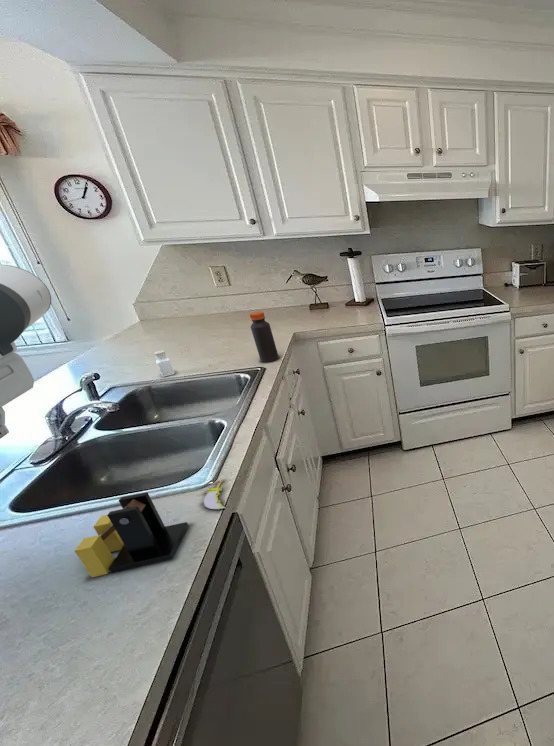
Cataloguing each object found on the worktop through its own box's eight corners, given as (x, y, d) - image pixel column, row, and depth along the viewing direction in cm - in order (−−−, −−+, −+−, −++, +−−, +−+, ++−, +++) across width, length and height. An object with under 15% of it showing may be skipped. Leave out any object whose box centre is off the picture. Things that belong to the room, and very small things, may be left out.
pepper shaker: (162, 377, 157) (153, 354, 153) (161, 374, 160) (152, 351, 156) (175, 374, 160) (166, 351, 156) (174, 371, 162) (164, 349, 158)
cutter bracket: (110, 573, 77) (81, 526, 72) (133, 537, 85) (109, 493, 80) (172, 559, 80) (148, 513, 75) (189, 525, 88) (168, 482, 83)
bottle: (257, 361, 169) (242, 315, 160) (270, 355, 175) (256, 310, 166) (269, 363, 167) (256, 316, 158) (282, 357, 173) (270, 311, 164)
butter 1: (108, 552, 82) (92, 526, 79) (116, 541, 84) (101, 515, 81) (123, 549, 82) (108, 523, 79) (130, 538, 85) (116, 512, 82)
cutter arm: (86, 564, 78) (68, 558, 77) (95, 552, 81) (78, 545, 79) (141, 514, 78) (125, 507, 76) (148, 504, 80) (132, 496, 79)
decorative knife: (200, 516, 90) (226, 508, 92) (199, 514, 90) (225, 506, 92) (207, 484, 100) (231, 477, 101) (207, 483, 99) (230, 476, 101)
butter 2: (91, 577, 77) (73, 550, 74) (100, 564, 79) (83, 538, 76) (107, 574, 77) (90, 547, 74) (115, 561, 80) (99, 534, 77)
